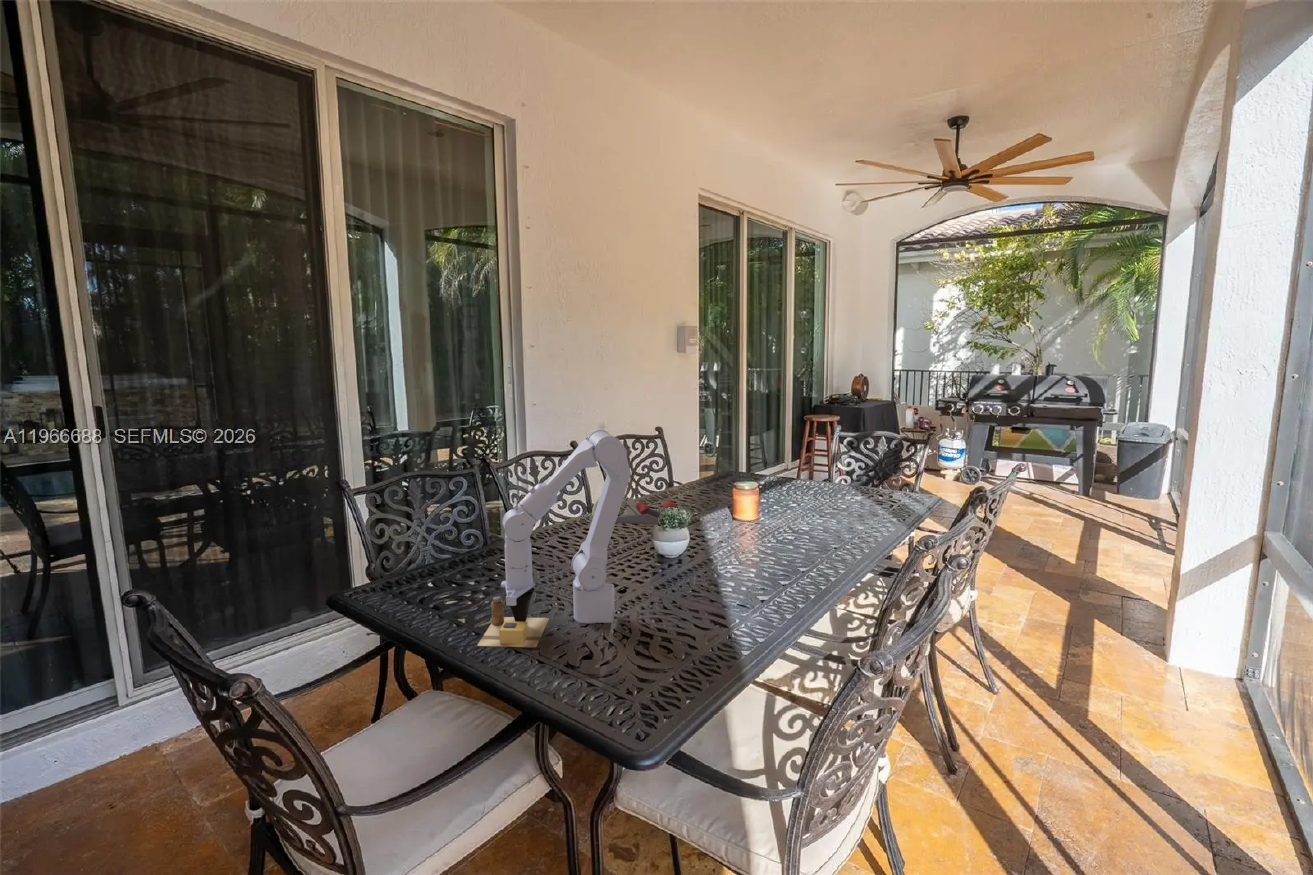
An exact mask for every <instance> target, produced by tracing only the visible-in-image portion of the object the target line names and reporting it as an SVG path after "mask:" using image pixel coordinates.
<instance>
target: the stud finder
mask: <svg viewBox="0 0 1313 875" xmlns="http://www.w3.org/2000/svg"><path fill="white" fill-rule="evenodd" d="M527 636H528V622H514V621H505V622H504V623H503V625H502V626H501V628H500V630H499V637H500V644H524V642H525V640H526V638H527Z"/></svg>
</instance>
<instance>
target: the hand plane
mask: <svg viewBox="0 0 1313 875" xmlns="http://www.w3.org/2000/svg"><path fill="white" fill-rule="evenodd" d="M600 495H601V493H600V494H599V496H598V497H597V498H596V500H595V501H594V504H593V507H592V513H591V514H592V515H591V516H590V517H589V522H592V520H593V516H594V513H595V510H596V507H597V504H598V501H599V498H600ZM621 507H623V508H625V510H624V509H620V510H619V513H618V516H617V519H616V522H615V523H617V524H619V523H620V524H640V525H641V524H642V525H643V524H645V525H647V524H648V525H658V524H657V523H658V517H659V515H660V513H661V512H659V511H656V510H654V509H652V508H650V507H649V506H647V504H645V503H644V502H643V500H640V502H637V501H635V499H634V498H633V497H632V496H630V497H629V496H626V497H625V498H623V501H622V504H621ZM668 507H675V508H677V509H678V506H677V504H676V502H674V501H672V500H671V499H670V500H669V499H667V500H666V501H664V502H663V503H662V512H663V511H664V509H665V508H668Z"/></svg>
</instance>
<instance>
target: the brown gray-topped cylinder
mask: <svg viewBox="0 0 1313 875" xmlns="http://www.w3.org/2000/svg"><path fill="white" fill-rule="evenodd" d="M490 604H491V605H490V608H491V623H492V625H494V626H500V625H503V623H504V617H505V616H504V615H505V613H504V610H505V609H504V600H502V597H501V596H494V597H492V601H491V603H490Z"/></svg>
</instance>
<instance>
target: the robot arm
mask: <svg viewBox="0 0 1313 875" xmlns="http://www.w3.org/2000/svg"><path fill="white" fill-rule="evenodd" d="M628 460H629V459H628V450H627V449H626V447H625V446H624V444H623V443H622V442H621V441H620V439H619V438H618V437H616V436H613V435H612V434H610V433H609V431H606V430H604V429H596V430H594V431H592V432H591V433H590V434H589V435H588V437H587V438H585V439H583V440H582V441H581V442H580V443H579V444H578V446H576V448H575V449H574V451H573V452H572V453H571V454H570V455H569V456H568V457H567V459H566V460H565V461H564V462H563V463H562V464H561V465H560V467H559V468H557V469H556V471H555V472H554V473H553V475H551V477H550V478H549V479H548V480H547V481H546V482H541V483H537V484H536V485H535V486H533V485H530V487H529V488H528V489H527V491H528V493H527V494H526V495H525V496H524V497H523V498H522V499H521V500H520V501H519V502H518V503H514V505H513V506H512V508H513V509H510V510H508V511H507V512H506V513H504V515H503V518H502V520H501V525H502V527H503V530H504V546H503V548H504V567H505V580H503V581H502V582H501V583H500V588H505V592H506V593H505V594H504V599H505V605H506V606H509V607H510V609H511V612H512V615H513V616H512V617H514V619H515V622H526V619H527V618H528V616H529V608H530V603H531V600H532V596H533V594H534V592H535V587H534V586H535V585H534V584H535V583H534V579H533V556H532V552H533V551H532V542H531V535H532V534H533V531H534V524H537V523H538V522H539V521H540V520H541V519H542V518H543V516H544V515H545V514H547V512H548V511H549V510H550V509H551V508H552V507H553V506H555V504H557V501H558V493H559V492H560V491H561V490H563V488H564V487H565V486H567V485H568V484H569V483H570V481H572V479H574V478H575V477H576V476H577V475H578V474H579V473H580V472H581V471H582V470H583V469H589V468H596V467H598V466H599V465H600V466H601V468H602V470H603V471H604V472H605V475H606V477H605V480H604V483H603V486H602V489H601V492H600V494H601V495H600V494H599V496H600V498H599V501H598V504H597V507H596V510H595V513H594V516H593V515H592V516H593V520H592V521H591V523H590V526H589V530H588V532H587V536H586V538H585V540H584V541H583V542H582V543H581V544H580V546H579V547H580V548H579V549H578V551H577V552H576V553H575V554H574V556H573V557H572V559H571V570H572V571H573V572H574V574H575V577H574V579H573V581H572V591H573V592H572V596H573V598H572V599H573V619H574V621H576V622H577V623H581V624H597V623H600V624H601V623H604V624H605V623H608V624H610V623H611V624H610V629H612V627H613V622H614V619H615V616H616V608H615V606H616V604H615V585H614V584H612V583H607V582H606V579H607V576H608V575H607V564H608V546H609V543H610V540H611V537H612V535H613V531H614V528H615V525H616V523H617V522H616V519H617V516H618V513H619V510H621V507H622V505H621V504H622V502H623V500H624V499H625V498H624V497H625V495H626V491H627V488H628V485H629V483H630V479H631V474H632V472H631V468H630V464H629V461H628ZM597 462H598V463H599V465H598V463H597Z"/></svg>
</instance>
